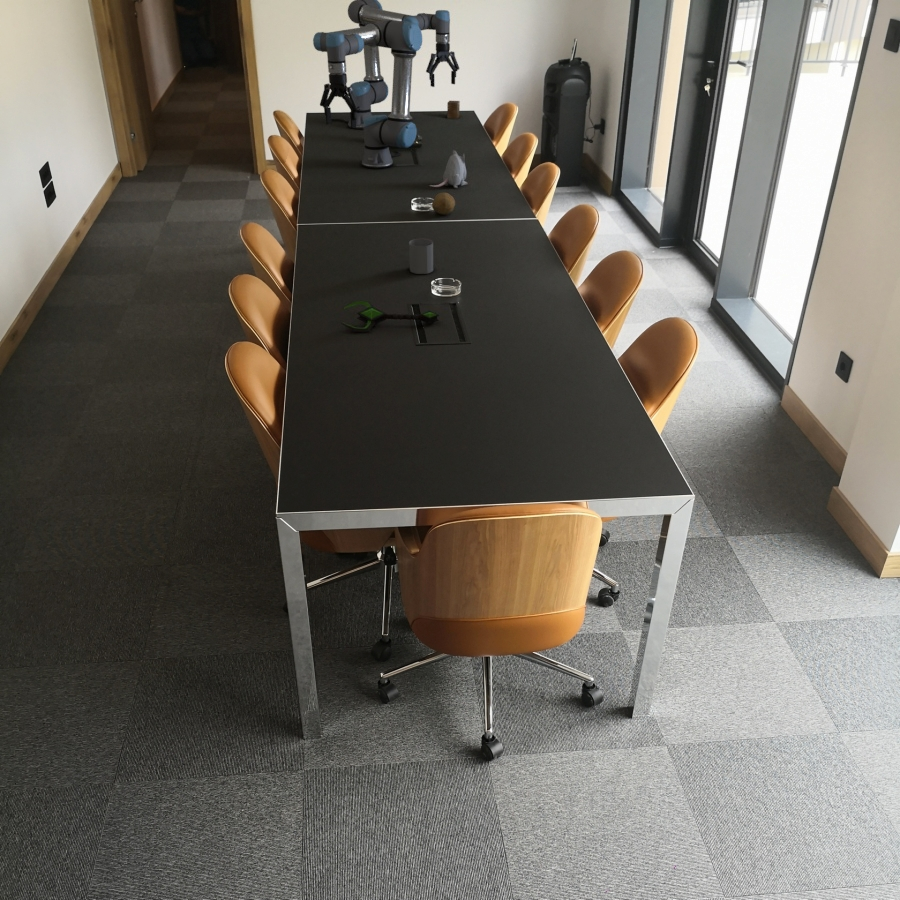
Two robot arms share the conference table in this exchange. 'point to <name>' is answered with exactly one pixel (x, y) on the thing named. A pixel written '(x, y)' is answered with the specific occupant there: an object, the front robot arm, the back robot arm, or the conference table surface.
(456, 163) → the toy
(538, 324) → the conference table surface
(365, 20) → the back robot arm
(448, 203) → the potato
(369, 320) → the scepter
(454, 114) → the brick
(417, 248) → the cup
